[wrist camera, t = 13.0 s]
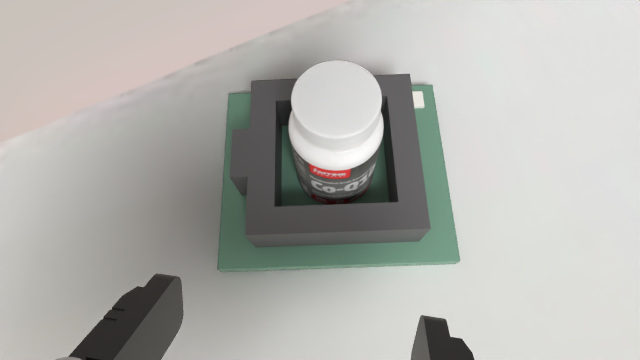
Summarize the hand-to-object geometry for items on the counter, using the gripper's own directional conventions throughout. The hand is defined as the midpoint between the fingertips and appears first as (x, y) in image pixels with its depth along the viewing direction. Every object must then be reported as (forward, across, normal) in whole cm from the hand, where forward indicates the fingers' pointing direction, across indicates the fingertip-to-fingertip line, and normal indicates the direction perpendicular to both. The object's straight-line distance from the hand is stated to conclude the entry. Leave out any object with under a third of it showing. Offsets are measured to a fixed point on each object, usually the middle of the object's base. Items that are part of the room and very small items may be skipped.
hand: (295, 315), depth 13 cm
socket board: (+14, 0, +1) cm, 14 cm away
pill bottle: (+13, 0, 0) cm, 13 cm away
